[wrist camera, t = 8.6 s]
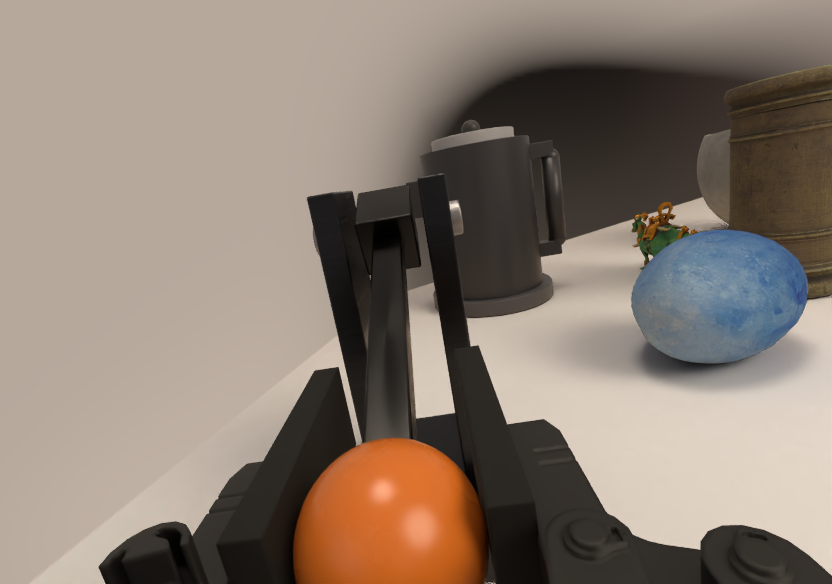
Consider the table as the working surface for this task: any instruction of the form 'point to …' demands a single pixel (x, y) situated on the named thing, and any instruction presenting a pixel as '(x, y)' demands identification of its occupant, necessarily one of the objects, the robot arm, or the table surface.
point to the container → (785, 167)
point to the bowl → (715, 173)
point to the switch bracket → (353, 300)
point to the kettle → (498, 215)
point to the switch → (390, 449)
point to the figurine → (657, 232)
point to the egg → (719, 296)
